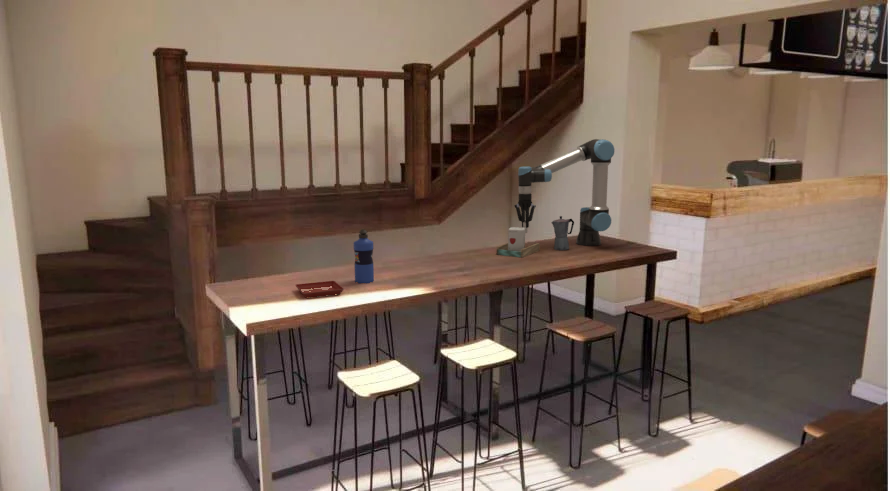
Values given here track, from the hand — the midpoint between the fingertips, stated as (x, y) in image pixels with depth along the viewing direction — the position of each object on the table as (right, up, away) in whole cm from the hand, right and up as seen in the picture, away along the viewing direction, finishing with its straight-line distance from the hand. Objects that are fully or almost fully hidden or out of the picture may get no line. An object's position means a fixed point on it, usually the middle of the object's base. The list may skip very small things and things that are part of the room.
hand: (525, 232), depth 377 cm
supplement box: (-6, -13, -8) cm, 16 cm away
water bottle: (-86, -25, -72) cm, 115 cm away
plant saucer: (-104, -29, -93) cm, 142 cm away
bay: (-5, -12, -5) cm, 13 cm away
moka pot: (+23, -10, +6) cm, 25 cm away
